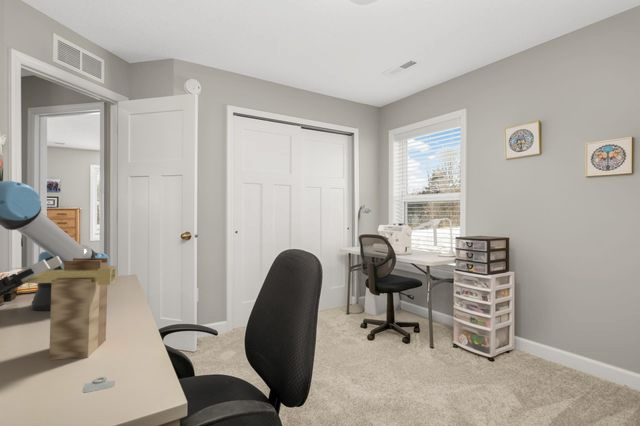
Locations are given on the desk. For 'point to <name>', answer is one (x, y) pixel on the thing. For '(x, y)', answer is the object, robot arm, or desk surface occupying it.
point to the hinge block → (77, 312)
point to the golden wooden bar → (77, 275)
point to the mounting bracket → (98, 385)
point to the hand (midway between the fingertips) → (53, 262)
